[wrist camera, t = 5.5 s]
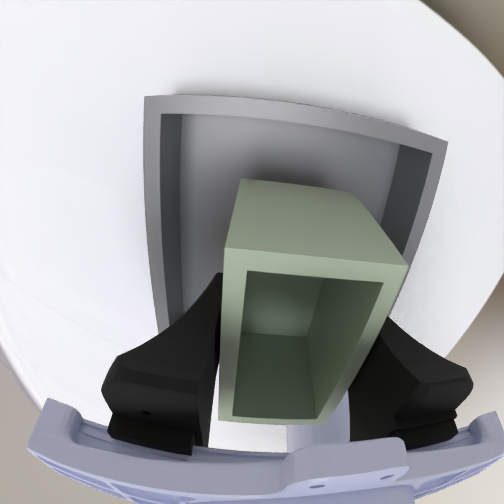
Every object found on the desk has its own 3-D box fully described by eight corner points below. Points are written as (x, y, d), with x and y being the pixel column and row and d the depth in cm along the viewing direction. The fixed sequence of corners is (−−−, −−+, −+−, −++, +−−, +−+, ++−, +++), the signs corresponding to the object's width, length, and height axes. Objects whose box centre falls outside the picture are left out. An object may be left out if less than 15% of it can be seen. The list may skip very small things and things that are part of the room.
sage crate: (312, 336, 17) (325, 424, 12) (229, 330, 17) (218, 420, 12) (353, 192, 13) (408, 265, 7) (241, 178, 12) (224, 247, 7)
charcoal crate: (348, 327, 23) (360, 370, 19) (176, 313, 23) (162, 355, 19) (408, 128, 15) (448, 141, 11) (173, 94, 15) (144, 96, 11)
